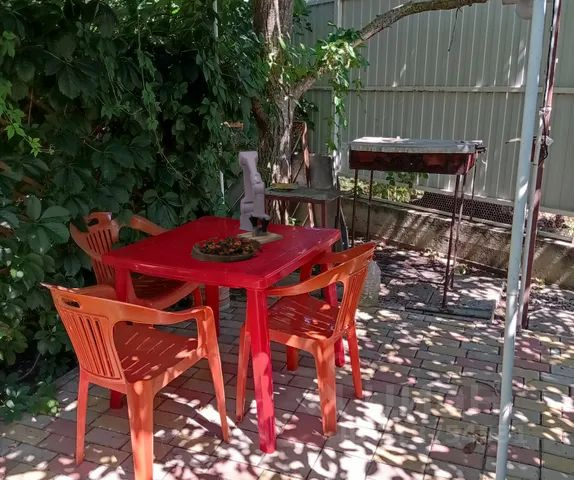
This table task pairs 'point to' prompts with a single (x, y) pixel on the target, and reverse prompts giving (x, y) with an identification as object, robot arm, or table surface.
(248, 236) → the base plate
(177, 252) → the table surface
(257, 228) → the jaw block
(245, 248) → the food dish
